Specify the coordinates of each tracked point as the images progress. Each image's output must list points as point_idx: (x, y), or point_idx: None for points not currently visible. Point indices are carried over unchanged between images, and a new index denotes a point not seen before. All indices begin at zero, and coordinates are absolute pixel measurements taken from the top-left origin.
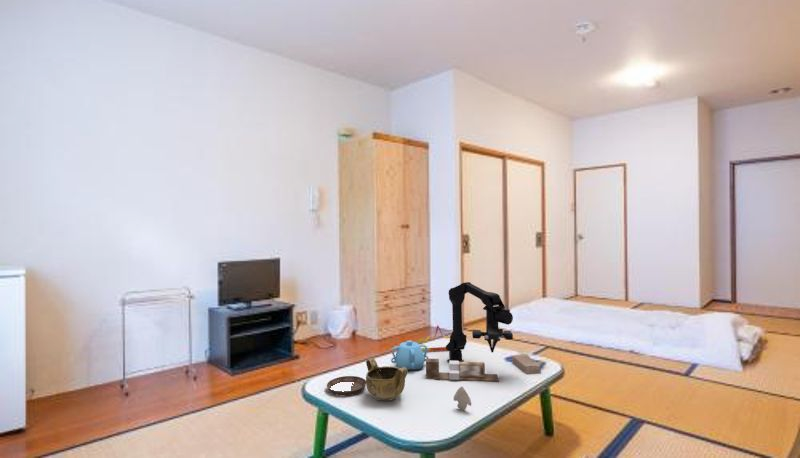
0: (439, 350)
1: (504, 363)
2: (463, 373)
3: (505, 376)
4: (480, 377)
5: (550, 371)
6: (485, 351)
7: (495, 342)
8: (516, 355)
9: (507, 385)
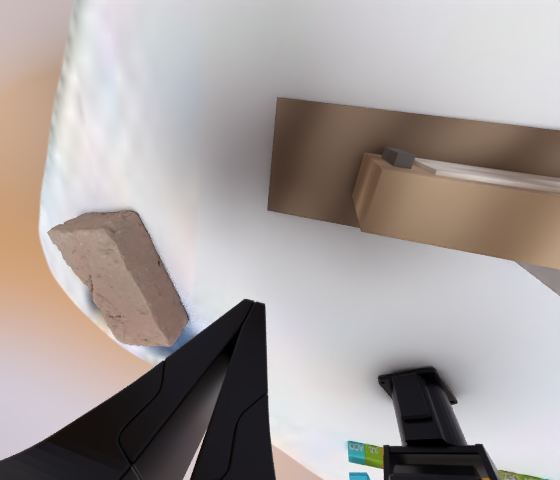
0: None
1: None
2: (556, 180)
3: (229, 193)
4: None
5: None
6: None
7: (66, 461)
8: (154, 344)
9: (234, 22)
